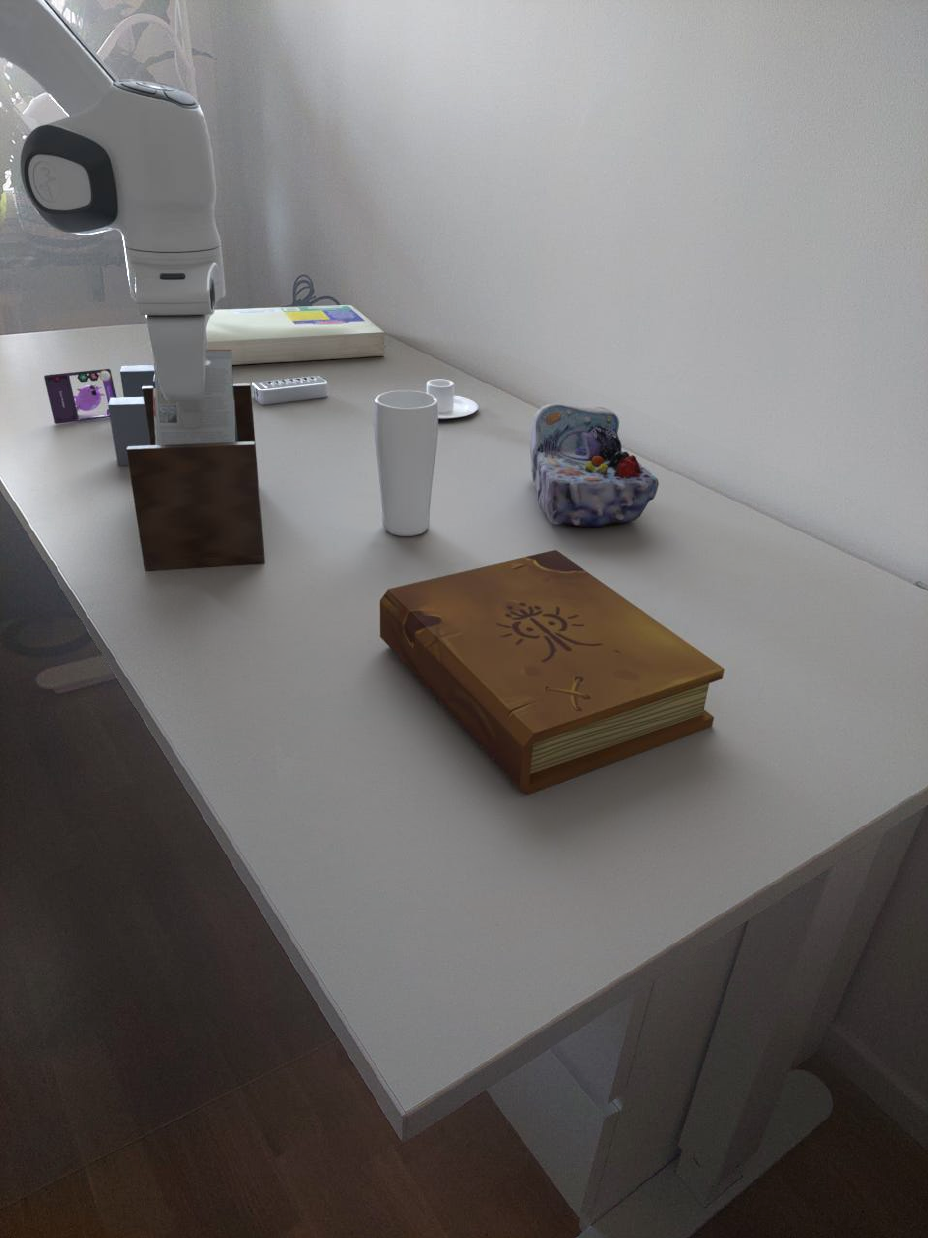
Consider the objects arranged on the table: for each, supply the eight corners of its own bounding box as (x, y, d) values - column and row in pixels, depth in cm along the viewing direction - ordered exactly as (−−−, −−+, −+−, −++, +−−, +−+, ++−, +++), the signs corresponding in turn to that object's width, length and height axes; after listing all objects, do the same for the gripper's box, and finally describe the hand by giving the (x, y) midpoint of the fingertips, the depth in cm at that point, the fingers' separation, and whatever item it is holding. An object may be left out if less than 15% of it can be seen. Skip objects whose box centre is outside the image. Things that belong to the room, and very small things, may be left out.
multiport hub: (328, 396, 148) (328, 382, 147) (261, 404, 143) (260, 390, 142) (318, 389, 151) (318, 375, 150) (252, 396, 147) (251, 382, 146)
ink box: (157, 477, 100) (148, 339, 93) (233, 476, 102) (230, 341, 95) (158, 490, 97) (149, 348, 90) (237, 489, 99) (234, 350, 92)
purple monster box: (44, 374, 130) (111, 367, 134) (40, 378, 135) (105, 371, 139) (55, 423, 132) (121, 415, 136) (51, 425, 136) (115, 417, 140)
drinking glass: (396, 546, 102) (396, 412, 95) (365, 524, 107) (362, 395, 99) (447, 532, 106) (451, 402, 98) (414, 511, 110) (415, 386, 103)
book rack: (144, 571, 95) (126, 449, 89) (157, 492, 113) (142, 385, 106) (264, 563, 98) (255, 444, 91) (259, 487, 115) (250, 382, 109)
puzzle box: (169, 336, 178) (182, 368, 159) (166, 311, 176) (178, 341, 156) (354, 327, 189) (387, 357, 170) (354, 304, 187) (387, 331, 168)
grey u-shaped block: (117, 465, 120) (108, 404, 116) (130, 420, 135) (121, 365, 131) (174, 463, 121) (166, 402, 117) (180, 419, 136) (173, 364, 132)
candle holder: (384, 407, 144) (384, 379, 142) (443, 394, 151) (444, 367, 149) (434, 428, 137) (434, 399, 135) (493, 413, 144) (495, 385, 142)
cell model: (607, 390, 118) (676, 447, 102) (597, 469, 124) (661, 536, 108) (509, 393, 115) (564, 453, 99) (503, 475, 121) (554, 544, 105)
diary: (380, 647, 84) (379, 590, 81) (550, 602, 93) (555, 549, 90) (519, 798, 67) (524, 734, 64) (712, 726, 76) (725, 666, 73)
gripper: (149, 258, 97) (166, 389, 104) (133, 299, 80) (154, 453, 87) (212, 258, 99) (224, 387, 105) (209, 299, 81) (224, 450, 88)
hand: (193, 418), depth 96 cm, fingers closed on ink box, 4 cm apart
